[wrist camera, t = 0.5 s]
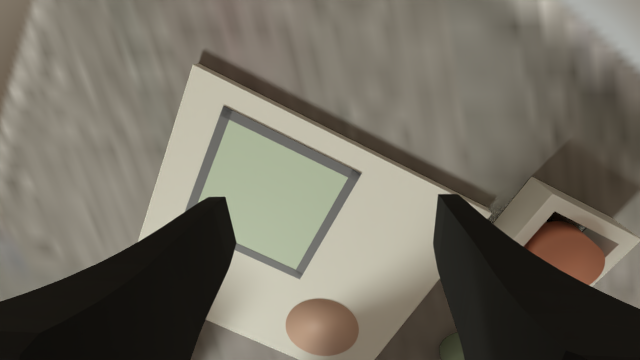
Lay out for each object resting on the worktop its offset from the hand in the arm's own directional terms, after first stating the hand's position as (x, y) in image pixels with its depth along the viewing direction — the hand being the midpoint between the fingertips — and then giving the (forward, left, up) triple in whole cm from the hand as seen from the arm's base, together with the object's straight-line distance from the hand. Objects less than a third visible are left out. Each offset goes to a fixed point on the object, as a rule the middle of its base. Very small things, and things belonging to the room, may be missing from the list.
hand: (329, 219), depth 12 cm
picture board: (-9, 0, -11) cm, 14 cm away
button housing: (0, -14, -11) cm, 18 cm away
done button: (0, -14, -9) cm, 17 cm away
